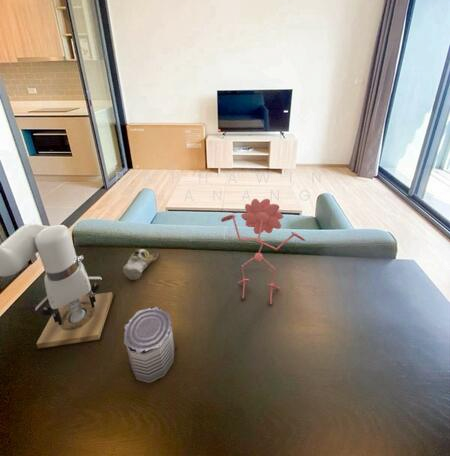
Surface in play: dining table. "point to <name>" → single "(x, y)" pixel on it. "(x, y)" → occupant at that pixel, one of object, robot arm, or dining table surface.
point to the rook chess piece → (76, 311)
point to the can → (149, 343)
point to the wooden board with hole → (80, 330)
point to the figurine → (261, 229)
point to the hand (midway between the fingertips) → (76, 312)
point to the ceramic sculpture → (138, 263)
